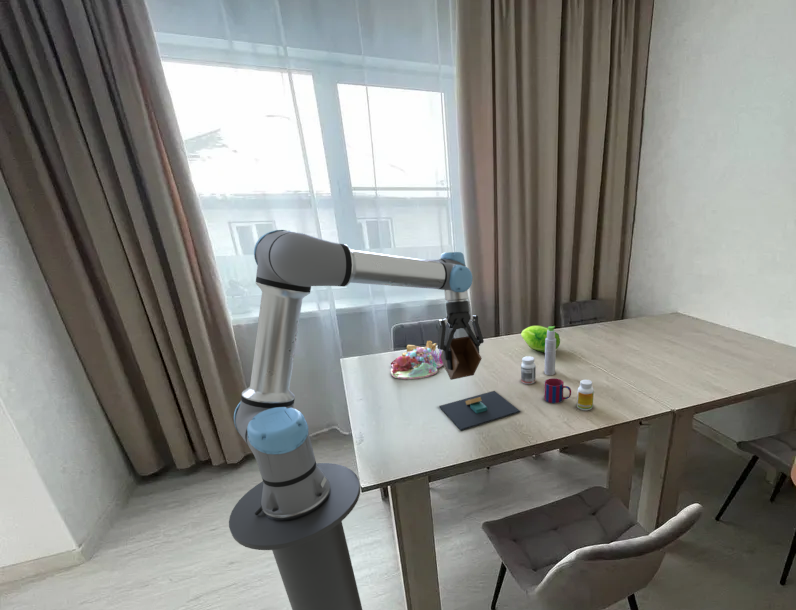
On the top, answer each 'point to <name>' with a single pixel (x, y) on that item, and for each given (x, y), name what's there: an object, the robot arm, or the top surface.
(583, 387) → the supplement bottle
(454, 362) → the open wooden box
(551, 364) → the bottle
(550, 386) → the mug
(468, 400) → the block
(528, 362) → the pill bottle
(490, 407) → the mat
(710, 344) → the top surface
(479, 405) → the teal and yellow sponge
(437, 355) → the candy landscape model
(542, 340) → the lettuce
